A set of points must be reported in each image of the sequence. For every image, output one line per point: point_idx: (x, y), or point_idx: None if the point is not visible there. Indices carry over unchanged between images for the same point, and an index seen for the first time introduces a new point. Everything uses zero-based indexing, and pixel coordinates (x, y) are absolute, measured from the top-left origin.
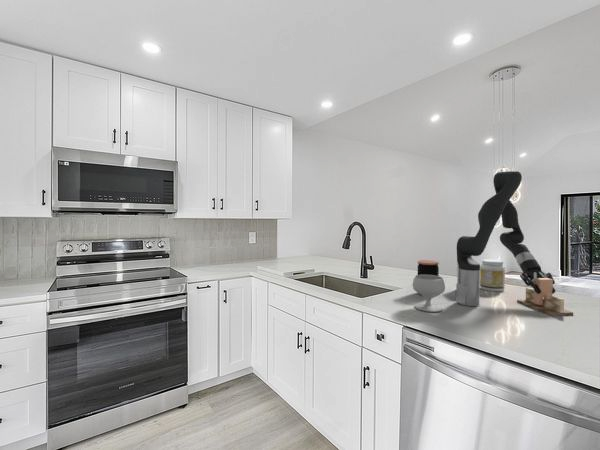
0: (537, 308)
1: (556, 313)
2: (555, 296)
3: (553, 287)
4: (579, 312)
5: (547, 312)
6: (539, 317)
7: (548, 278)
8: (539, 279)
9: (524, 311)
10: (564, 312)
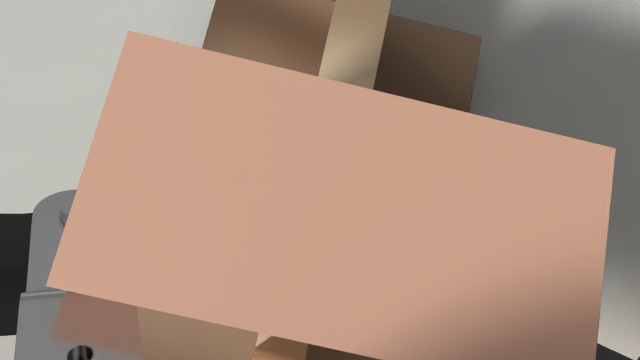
0: None
1: (411, 26)
2: (339, 21)
3: None
4: (35, 39)
5: (469, 81)
6: (631, 40)
7: (103, 209)
8: (612, 176)
9: (625, 227)
10: (318, 2)
